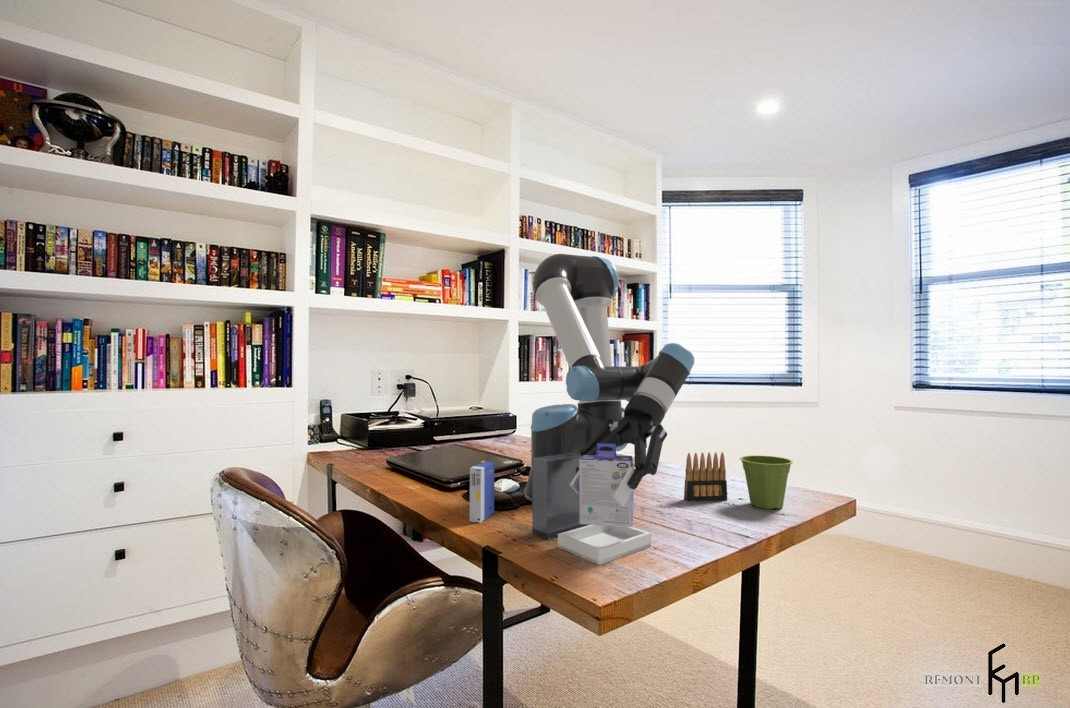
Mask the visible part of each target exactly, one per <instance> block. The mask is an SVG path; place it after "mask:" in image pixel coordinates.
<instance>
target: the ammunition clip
mask: <svg viewBox="0 0 1070 708" xmlns="http://www.w3.org/2000/svg"><path fill="white" fill-rule="evenodd" d="M725 459H726V458H725V454H724V452H721V454H720V456H719V458H718V453H717V452H714V454H713V459H712V456H711V453H710V452H708V453H707V456H706V458H705V454H704V452H701V454H700V458H699V456H698V454H697V452H695V453H694V455H693V461H692V455H691V453H690V452H688V454H687V456H686V463H685V466H686V467H685V479H684V491H683V492H684V493H683V500H684V501H686V502H688V503H689V502H718V501H728V486H727V478H726V477H727V473H726V472H727V471H726V460H725ZM712 460H713V461H712Z"/></svg>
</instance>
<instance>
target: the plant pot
mask: <svg viewBox="0 0 1070 708" xmlns="http://www.w3.org/2000/svg"><path fill="white" fill-rule="evenodd" d="M739 460H740V461H741V463H742V464H741V465H742V468H743V471H744V474H745V480H746V486H747V493H748V497H749V502H750V505H751V506H754V507H756V508H758V509H765V510H773V509H777V510H780V509H782V508H784V503H785V496H786V489H787V483H788V477H789V473H790V469H791V465H792V464H793V463H794V461H793V460H792V459H789V458H786V457H780V456H771V455H742V456H740V457H739Z"/></svg>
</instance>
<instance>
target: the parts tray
mask: <svg viewBox="0 0 1070 708" xmlns="http://www.w3.org/2000/svg"><path fill="white" fill-rule="evenodd" d="M651 547H652V532H649V531H646V530H643V529H639V528H636V527H633V526H632V527H621V526H605V525H588V526H584V527H581V528H577V529H574V530H570V531H567V532H563V533H560V534H558V537H557V548H558V549H560V550H562V549H563V551H564V550H565V552H567V551H568V552H567V553H569V552H570V554H571V553H572V555H574V556H576V557H578V556H579V558H581V559H582V560H585V561H588V562H590V563H593V564H594V563H595V565H597V566H601V565H603V564H606V563H609V562H612V561H615V560H618V559H621V558H623V557H626V556H628V555H632V554H634V553H637V552H639V551H642V550H646V549H648V548H651Z"/></svg>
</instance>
